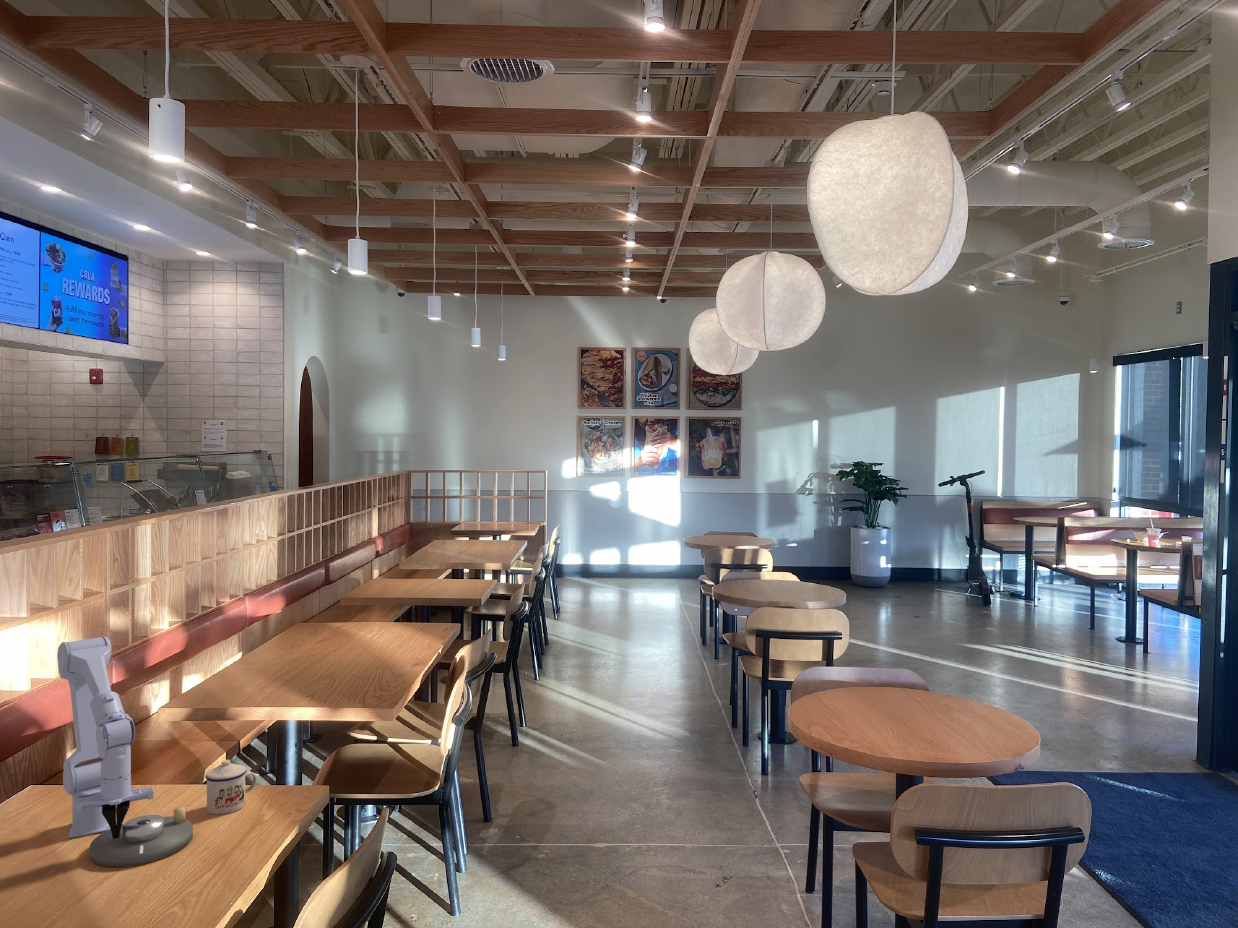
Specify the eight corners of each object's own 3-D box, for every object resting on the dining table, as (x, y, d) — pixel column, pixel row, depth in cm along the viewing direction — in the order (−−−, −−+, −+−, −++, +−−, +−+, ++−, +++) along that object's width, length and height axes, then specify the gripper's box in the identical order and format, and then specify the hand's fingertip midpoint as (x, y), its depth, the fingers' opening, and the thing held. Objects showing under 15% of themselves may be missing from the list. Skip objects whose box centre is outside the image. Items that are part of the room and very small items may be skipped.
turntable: (93, 836, 190) (93, 814, 190) (192, 818, 200) (191, 797, 199) (85, 875, 172) (85, 851, 172) (193, 853, 182) (193, 830, 182)
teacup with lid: (213, 818, 200) (213, 770, 200) (200, 807, 206) (200, 760, 206) (264, 804, 208) (263, 757, 208) (249, 793, 215) (249, 748, 215)
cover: (124, 832, 188) (124, 818, 188) (164, 824, 191) (164, 811, 191) (121, 846, 181) (121, 832, 181) (163, 839, 184) (163, 824, 184)
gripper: (74, 787, 177) (75, 851, 177) (153, 774, 183) (153, 836, 183) (78, 776, 183) (78, 838, 183) (153, 764, 190) (154, 824, 190)
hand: (116, 836), depth 184 cm, fingers closed
